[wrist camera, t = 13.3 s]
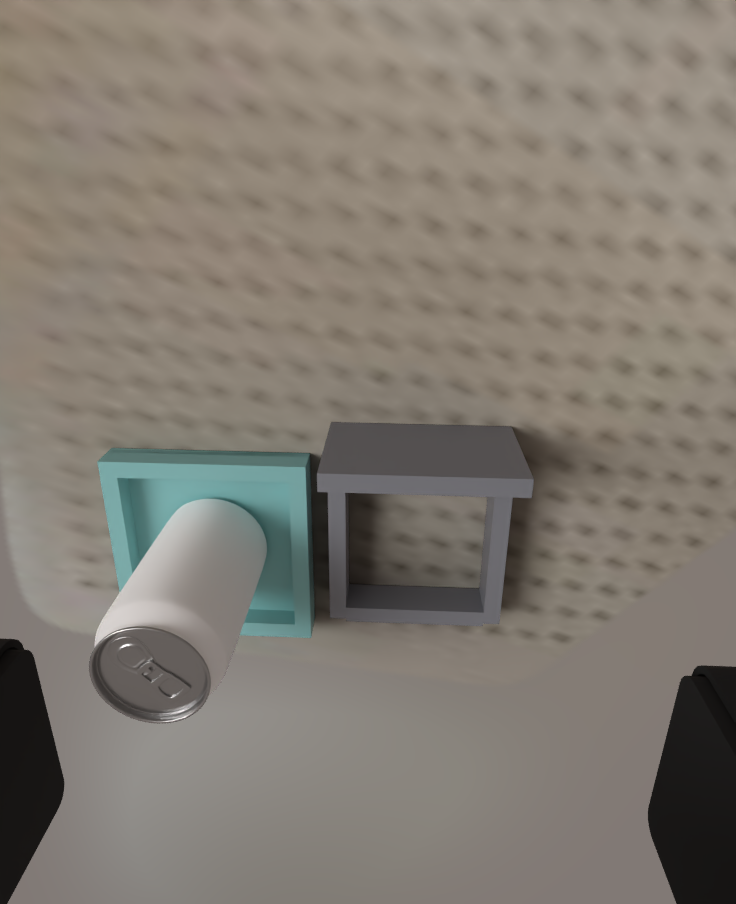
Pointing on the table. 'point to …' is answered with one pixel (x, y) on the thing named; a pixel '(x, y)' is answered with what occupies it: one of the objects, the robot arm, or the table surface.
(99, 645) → the can
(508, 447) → the bay
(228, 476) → the tray
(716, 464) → the table surface
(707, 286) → the table surface
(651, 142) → the table surface
